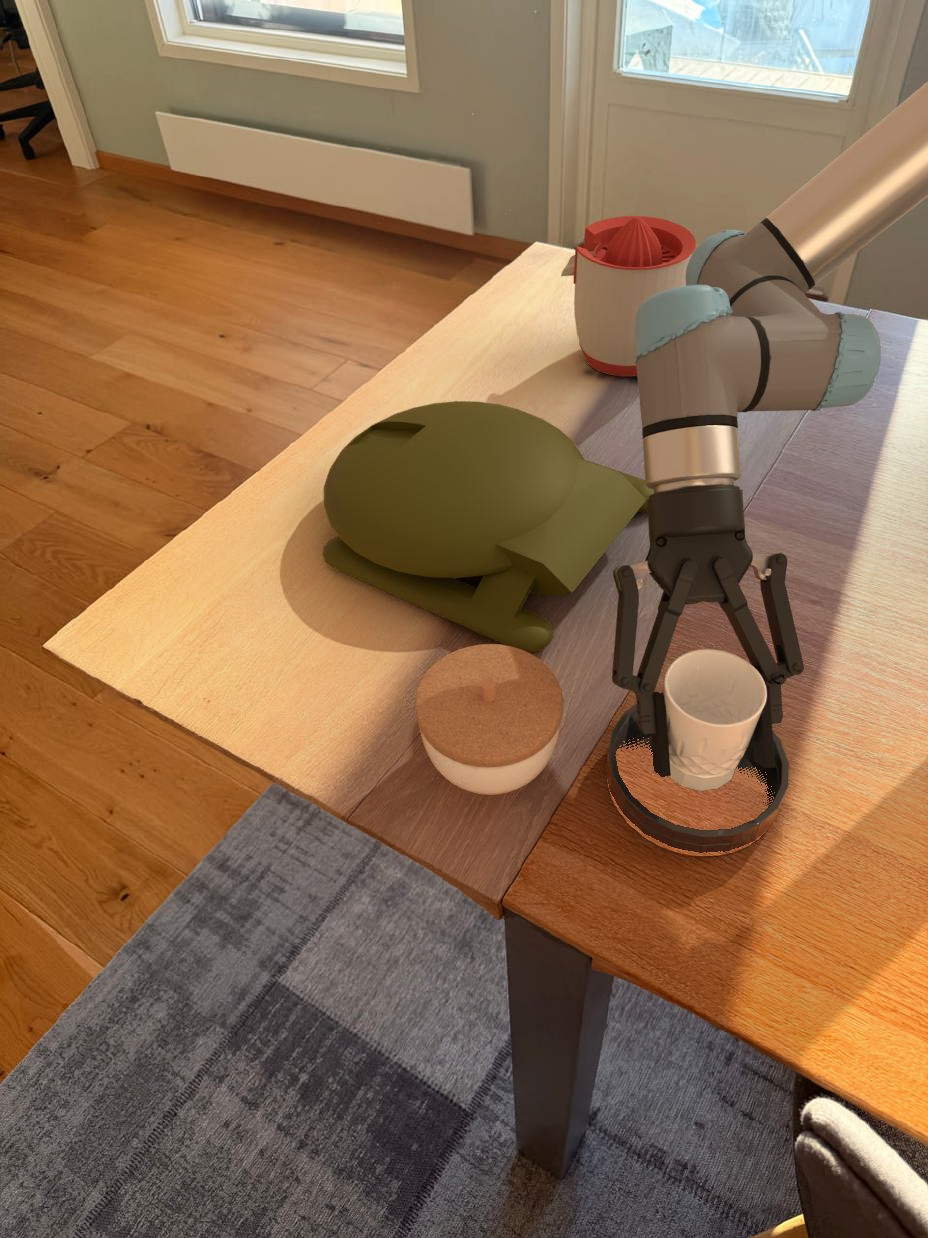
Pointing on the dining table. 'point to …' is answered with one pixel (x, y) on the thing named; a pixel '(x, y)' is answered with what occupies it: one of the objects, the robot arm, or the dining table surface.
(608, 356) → the citrus juicer
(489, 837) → the dining table surface
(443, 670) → the lidded bowl
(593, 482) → the spaceship
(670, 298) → the robot arm
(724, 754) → the white cup
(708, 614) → the dining table surface
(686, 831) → the dark grey round dish
